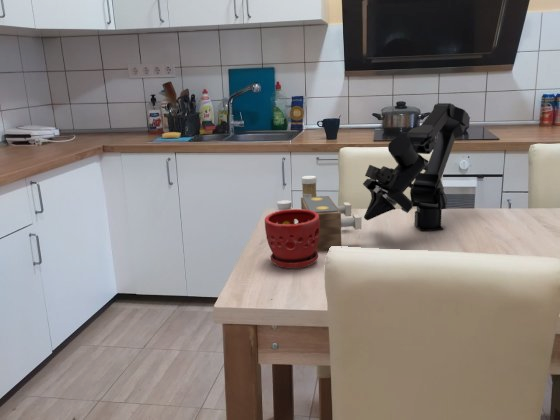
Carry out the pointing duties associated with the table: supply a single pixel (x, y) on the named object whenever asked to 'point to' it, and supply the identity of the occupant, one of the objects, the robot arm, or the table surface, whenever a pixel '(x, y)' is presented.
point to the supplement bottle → (284, 208)
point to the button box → (327, 228)
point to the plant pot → (293, 237)
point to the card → (320, 204)
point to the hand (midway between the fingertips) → (365, 219)
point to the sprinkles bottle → (309, 186)
